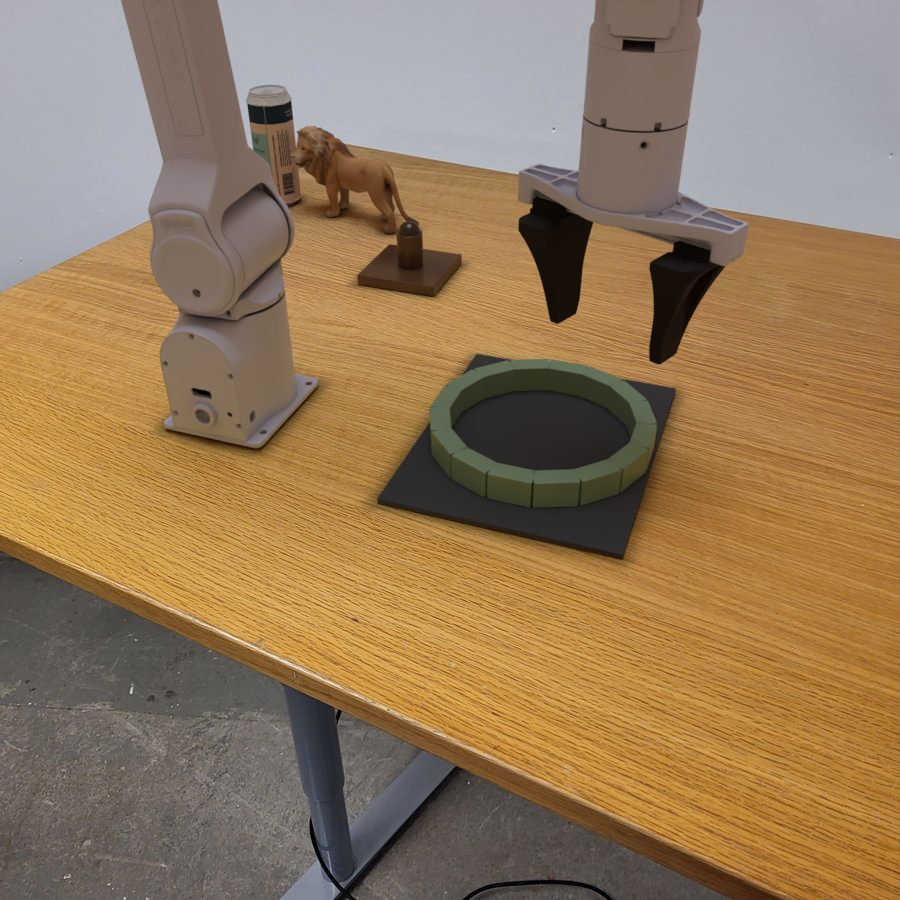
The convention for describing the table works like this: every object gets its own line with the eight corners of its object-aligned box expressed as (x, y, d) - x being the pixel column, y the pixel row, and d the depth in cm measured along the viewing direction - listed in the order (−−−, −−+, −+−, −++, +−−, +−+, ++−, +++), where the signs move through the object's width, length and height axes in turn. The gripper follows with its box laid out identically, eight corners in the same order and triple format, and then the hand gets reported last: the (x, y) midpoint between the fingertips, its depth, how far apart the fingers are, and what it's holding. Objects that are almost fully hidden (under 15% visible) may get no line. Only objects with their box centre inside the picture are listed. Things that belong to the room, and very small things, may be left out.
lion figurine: (289, 214, 101) (279, 130, 96) (317, 199, 105) (309, 117, 100) (407, 238, 95) (403, 150, 90) (431, 221, 99) (430, 135, 94)
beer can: (306, 193, 106) (295, 84, 99) (296, 209, 102) (284, 96, 95) (265, 192, 107) (251, 83, 100) (253, 208, 103) (238, 95, 96)
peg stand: (433, 296, 85) (432, 242, 82) (357, 284, 87) (353, 231, 84) (461, 263, 90) (461, 212, 87) (389, 253, 93) (387, 202, 90)
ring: (627, 529, 57) (631, 504, 56) (396, 479, 62) (395, 454, 61) (668, 402, 69) (672, 379, 68) (472, 367, 73) (472, 345, 72)
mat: (622, 559, 56) (623, 554, 56) (377, 503, 60) (376, 498, 60) (675, 392, 71) (676, 388, 71) (476, 357, 76) (476, 353, 75)
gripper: (793, 127, 49) (746, 351, 57) (572, 80, 57) (558, 282, 65) (725, 159, 45) (685, 397, 53) (498, 103, 53) (492, 317, 61)
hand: (611, 336), depth 59 cm, fingers open, 7 cm apart
